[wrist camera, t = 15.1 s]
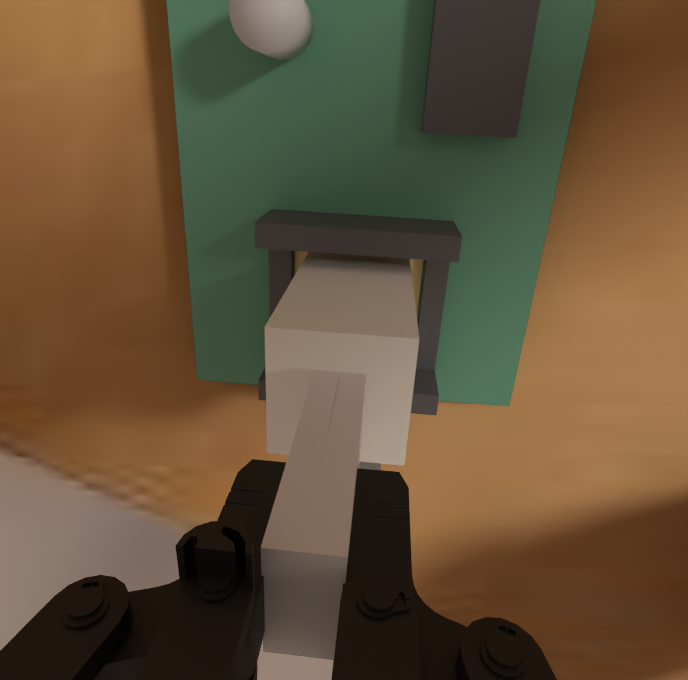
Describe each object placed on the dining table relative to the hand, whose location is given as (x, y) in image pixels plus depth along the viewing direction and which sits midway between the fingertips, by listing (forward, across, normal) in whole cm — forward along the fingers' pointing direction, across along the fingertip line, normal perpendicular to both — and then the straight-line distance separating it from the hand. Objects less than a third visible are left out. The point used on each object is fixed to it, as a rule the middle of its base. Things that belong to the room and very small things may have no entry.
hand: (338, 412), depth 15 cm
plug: (+10, 0, 0) cm, 10 cm away
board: (+11, 0, +5) cm, 12 cm away
